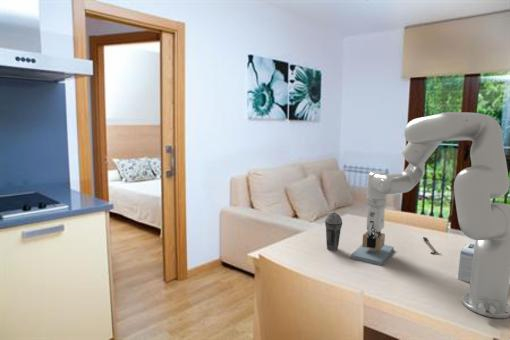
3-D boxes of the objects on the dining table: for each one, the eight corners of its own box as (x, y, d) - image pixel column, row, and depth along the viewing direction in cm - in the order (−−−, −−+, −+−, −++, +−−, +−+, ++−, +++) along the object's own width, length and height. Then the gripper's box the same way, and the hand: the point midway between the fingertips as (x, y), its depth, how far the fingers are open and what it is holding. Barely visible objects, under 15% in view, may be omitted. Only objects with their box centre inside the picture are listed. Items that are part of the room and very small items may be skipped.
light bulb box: (462, 270, 135) (465, 242, 133) (484, 275, 131) (487, 246, 129) (457, 279, 127) (460, 249, 125) (479, 285, 122) (482, 254, 121)
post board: (381, 265, 138) (382, 243, 136) (350, 258, 144) (351, 237, 143) (393, 250, 154) (394, 230, 153) (365, 244, 161) (366, 225, 160)
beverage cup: (321, 249, 153) (323, 203, 150) (326, 244, 159) (328, 200, 157) (338, 253, 150) (340, 205, 147) (342, 247, 156) (345, 202, 153)
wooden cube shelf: (379, 250, 144) (380, 238, 143) (362, 246, 148) (362, 234, 147) (384, 245, 150) (385, 233, 149) (367, 242, 153) (367, 230, 153)
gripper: (380, 207, 137) (377, 252, 139) (390, 199, 151) (388, 240, 154) (360, 205, 141) (357, 248, 143) (372, 197, 155) (370, 237, 158)
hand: (373, 244), depth 149 cm, fingers closed on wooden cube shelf, 7 cm apart
